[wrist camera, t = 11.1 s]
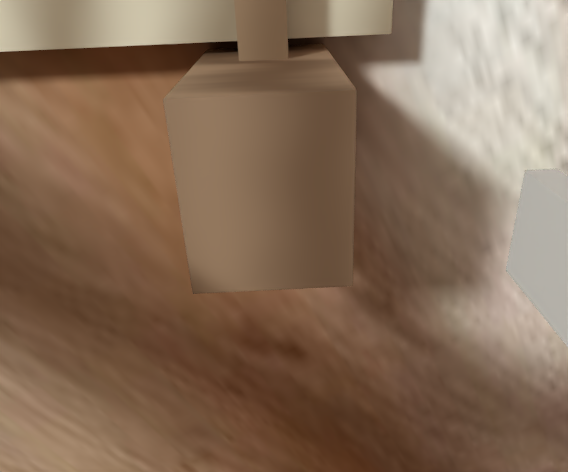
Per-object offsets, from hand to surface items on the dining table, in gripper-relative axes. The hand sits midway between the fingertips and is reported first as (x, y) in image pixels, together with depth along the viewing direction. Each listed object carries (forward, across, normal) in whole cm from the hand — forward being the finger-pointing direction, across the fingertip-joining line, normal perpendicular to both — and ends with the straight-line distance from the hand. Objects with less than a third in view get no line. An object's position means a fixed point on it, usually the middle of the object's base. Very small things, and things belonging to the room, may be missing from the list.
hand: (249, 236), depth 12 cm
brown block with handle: (+12, +1, +3) cm, 13 cm away
